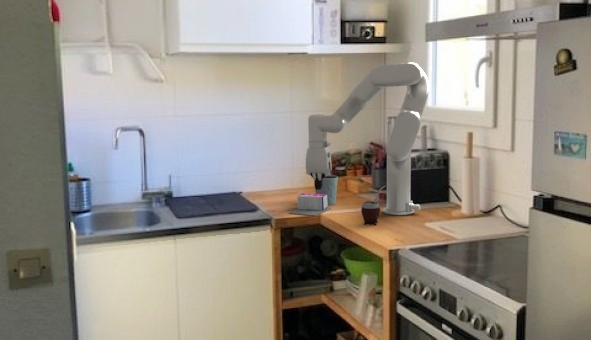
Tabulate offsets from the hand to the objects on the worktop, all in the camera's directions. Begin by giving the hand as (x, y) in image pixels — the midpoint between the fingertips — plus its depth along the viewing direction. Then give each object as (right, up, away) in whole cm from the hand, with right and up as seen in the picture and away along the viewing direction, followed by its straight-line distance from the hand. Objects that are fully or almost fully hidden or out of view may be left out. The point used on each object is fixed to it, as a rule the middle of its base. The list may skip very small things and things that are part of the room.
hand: (318, 189), depth 267 cm
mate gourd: (+19, -13, -22) cm, 32 cm away
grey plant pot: (+4, -7, +15) cm, 17 cm away
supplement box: (+3, -5, +2) cm, 7 cm away
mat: (-3, -9, +1) cm, 10 cm away
